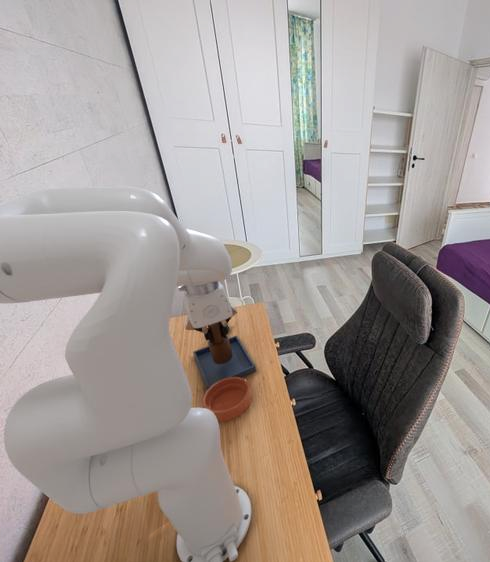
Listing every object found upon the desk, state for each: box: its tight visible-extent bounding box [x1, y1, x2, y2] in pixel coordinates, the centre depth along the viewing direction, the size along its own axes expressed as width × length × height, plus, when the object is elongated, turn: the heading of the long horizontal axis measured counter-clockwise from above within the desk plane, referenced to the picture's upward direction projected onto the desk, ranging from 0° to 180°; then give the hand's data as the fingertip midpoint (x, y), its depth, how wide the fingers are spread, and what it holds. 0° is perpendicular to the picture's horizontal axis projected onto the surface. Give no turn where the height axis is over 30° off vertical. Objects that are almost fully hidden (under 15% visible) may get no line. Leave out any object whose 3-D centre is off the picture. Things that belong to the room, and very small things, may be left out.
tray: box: [192, 335, 257, 391], centre depth 87 cm, size 17×13×3 cm
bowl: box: [202, 377, 253, 423], centre depth 76 cm, size 11×11×4 cm
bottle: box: [207, 322, 233, 364], centre depth 83 cm, size 5×5×14 cm
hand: (217, 337), depth 83 cm, fingers closed on bottle, 3 cm apart
